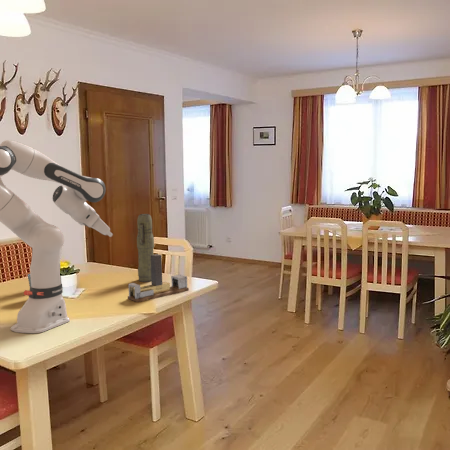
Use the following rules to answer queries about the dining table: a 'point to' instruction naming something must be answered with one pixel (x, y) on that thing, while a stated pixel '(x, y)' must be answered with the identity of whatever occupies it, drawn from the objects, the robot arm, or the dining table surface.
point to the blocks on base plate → (156, 277)
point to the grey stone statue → (145, 246)
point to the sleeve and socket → (176, 281)
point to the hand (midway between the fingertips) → (107, 232)
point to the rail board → (160, 294)
